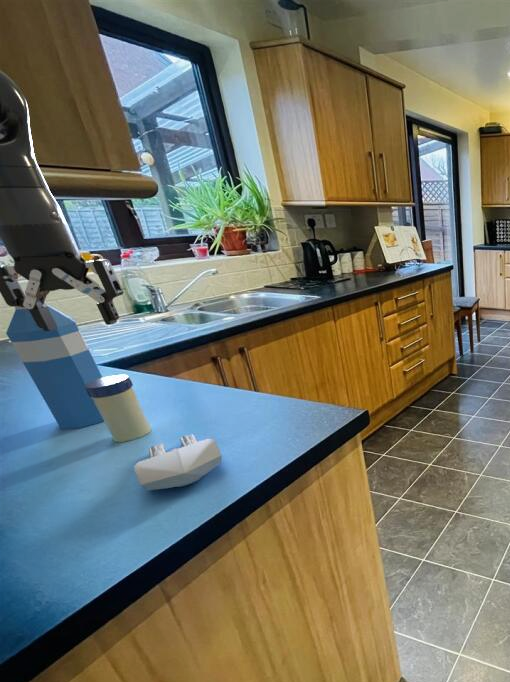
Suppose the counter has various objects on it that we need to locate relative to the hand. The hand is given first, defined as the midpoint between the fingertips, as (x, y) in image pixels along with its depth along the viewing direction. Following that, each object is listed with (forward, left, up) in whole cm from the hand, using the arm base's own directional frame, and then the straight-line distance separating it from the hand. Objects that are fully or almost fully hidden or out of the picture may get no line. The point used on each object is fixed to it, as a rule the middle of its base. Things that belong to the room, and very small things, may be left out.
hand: (82, 326), depth 67 cm
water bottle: (-12, +12, -21) cm, 27 cm away
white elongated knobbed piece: (+13, -17, -21) cm, 30 cm away
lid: (0, -1, -10) cm, 10 cm away
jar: (0, -1, -21) cm, 21 cm away
